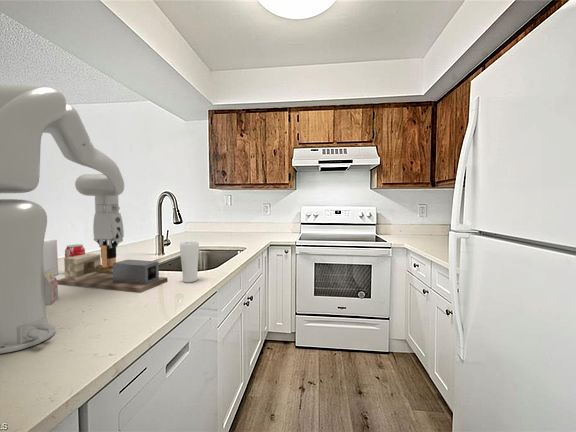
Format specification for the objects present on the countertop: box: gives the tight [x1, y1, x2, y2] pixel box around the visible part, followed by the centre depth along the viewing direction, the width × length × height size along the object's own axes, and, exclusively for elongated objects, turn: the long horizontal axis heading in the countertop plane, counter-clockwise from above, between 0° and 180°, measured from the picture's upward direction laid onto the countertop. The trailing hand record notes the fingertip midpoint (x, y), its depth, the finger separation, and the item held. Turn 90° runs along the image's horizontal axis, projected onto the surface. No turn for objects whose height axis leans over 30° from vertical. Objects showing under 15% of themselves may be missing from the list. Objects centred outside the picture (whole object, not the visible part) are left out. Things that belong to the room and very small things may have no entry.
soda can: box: [64, 243, 86, 258], centre depth 125 cm, size 7×7×12 cm
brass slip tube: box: [95, 243, 150, 276], centre depth 109 cm, size 22×4×11 cm, turn 75°
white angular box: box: [44, 268, 59, 306], centre depth 90 cm, size 4×7×10 cm, turn 24°
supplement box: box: [43, 238, 59, 276], centre depth 120 cm, size 9×9×15 cm
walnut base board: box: [57, 273, 168, 294], centre depth 110 cm, size 38×14×2 cm, turn 75°
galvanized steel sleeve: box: [113, 259, 160, 285], centre depth 107 cm, size 14×7×7 cm, turn 75°
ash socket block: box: [63, 253, 102, 280], centre depth 114 cm, size 6×10×8 cm, turn 165°
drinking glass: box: [179, 241, 200, 283], centre depth 113 cm, size 7×7×15 cm
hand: (108, 257), depth 110 cm, fingers closed on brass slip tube, 2 cm apart
